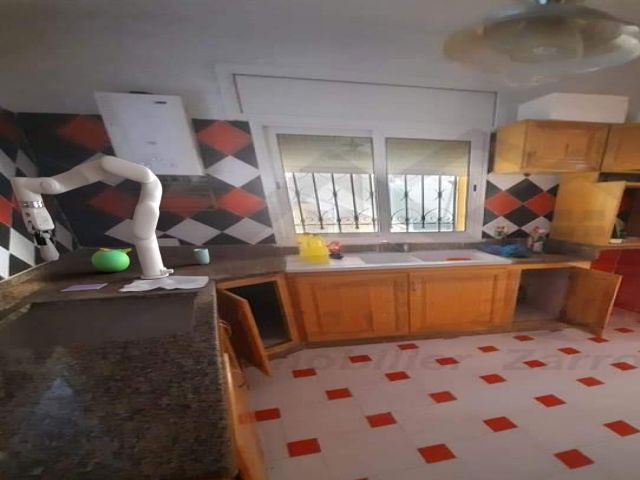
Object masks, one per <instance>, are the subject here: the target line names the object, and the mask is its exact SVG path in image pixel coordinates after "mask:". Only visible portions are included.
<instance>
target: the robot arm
mask: <svg viewBox="0 0 640 480" xmlns="http://www.w3.org/2000/svg"><path fill="white" fill-rule="evenodd" d="M114 176H116V177H117V176H118V177H120V178H124V179H127V180H131V181H135V182H138V183H139V184H140V186H141V189H140V194H139V199H138V202H137V204H136V206H135V209H134V212H133V218H132V221H131V225H130V229H129V231H130V234H131V235H132V238H133V241H134V245H135V249H136V253H137V256H138V260H139V264H140V267H141V270H142V275H140V279H141V280H154V279H161V278H165V277H168V276H169V275H170V274H173V273H174V269H172V268H170V269H169V268H167V267H166V266H164V263H163V260H162V255H161V252H160V247H159V242H158V239H157V235H156V228H157V225H158V220H159V217H160V210H159V209H160V205H161V200H162V195H163V186H162V182H161V181H160V179H159V178H158V176H156V174H154V172H152V170H151V169H150V168H148V167H147V166H145V165H143V164H142V165H141V164H139V163H135V162H132V161H128V160H126V159H122V158H119V157H116V156H113V155H103V156H102V157H100V158H99V159H95V160H92V161H89V162H86V163H82V164H79V165H76V166H74V167H73V168H72V169H70V170H68V171H65V172H62V173H58V174H56V175H53V176H49V177H48V176H47V177H46V176H43V177H27V176H25V177H23V176H13V177H10V178H9V179H10V180H9V182H10V185H11V187H12V190H13V192H14V195H15V199H16V200H17V203H18V206H19V208H20V210H21V215H22V219H23V223H24V225H25V227H26V229H27V232H28V233H30V234H31V235H32V237H33V238H34V240H35V242H36V245H37V246H38V247H40V246H44V245H47V243H46V240H45V237H43V234H42V233H48V234H49V235H50V238H49V240H50V241H51V243H52V244H53V245H55V240H54V237H53V229H55V224H54V222H53V220H52V217H51V215H50V213H49V211H48V210H47V208H46V206H45V202H44V200H43V198H42V195H41V194H45V195H59V194H62V193H65V192H68V191H71V190H74V189H77V188H80V187H84V186H88V185H91V184H94V183H97V182H99V181H103V180H105V179H108V178H111V177H114Z"/></svg>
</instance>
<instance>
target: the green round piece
mask: <svg viewBox="0 0 640 480" xmlns="http://www.w3.org/2000/svg"><path fill="white" fill-rule="evenodd" d="M130 251H132V248H124V249H123V248H122V249H121V248H118V249H116V248H104V247H103V248H102V247H99V250H97V251H96V252H94V253H93V255H92V256H91V264H92V265H93V267H94V268H95V269H97V270H98V271H100V272H105V273H118V272H122V271H124V270H126V269H127V268H128V267H129V265H130V258H129V256H128V255H127V253H128V252H130Z"/></svg>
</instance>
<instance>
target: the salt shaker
mask: <svg viewBox="0 0 640 480" xmlns="http://www.w3.org/2000/svg"><path fill="white" fill-rule="evenodd" d="M42 234H43V237H45V240H46V243H47V245H44V246H39V249H40V257H41V258H42V259H43V260H44V261H47V262H50V261H58V260H59V257H60V253H59V252H58V250H57V249H56V247H55V245H54V244H52V243H51V241H50V240H49V238H50V235H49V234H48V233H42Z"/></svg>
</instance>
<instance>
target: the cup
mask: <svg viewBox="0 0 640 480" xmlns="http://www.w3.org/2000/svg"><path fill="white" fill-rule="evenodd" d="M193 255H194V258H195V259H194V260H195V261H196V263H197V265H201V266H203V265H208V264H209V263H210V253H209V250H208V248H195V249H193Z"/></svg>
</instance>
